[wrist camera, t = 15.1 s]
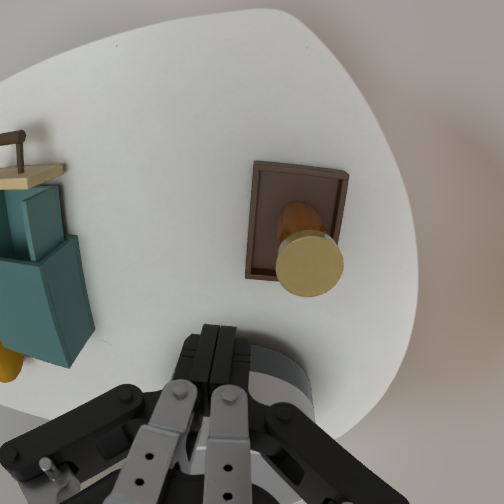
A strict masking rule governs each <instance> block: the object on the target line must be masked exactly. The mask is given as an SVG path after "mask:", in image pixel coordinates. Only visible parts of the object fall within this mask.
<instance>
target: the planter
mask: <svg viewBox="0 0 504 504" xmlns="http://www.w3.org/2000/svg"><path fill="white" fill-rule="evenodd" d="M175 369H176V368H175ZM174 372H175V370H174V371H173V374H172V377H171V380H170V381H172V379H173V376H174ZM248 390H249V393H250V395H251V396H252V398H253V399H255V400H256V401H258V402H259V403H262V404H265V405H268V406H271V405H272V404H274V403H278V402H288V403H291V404H293V405H295V406H297V407H298V408H299V409H300V410H301V411H302V412H303V413H304V414H305V415H307V416H308V417H309V418H310V419H311V420H312V421H313V422H314V423H315V416H314V407H313V399H312V391H311V384H310V381H309V379H308V376H307V375H306V373H305V372H304V370H303V369H302V368H301V367H300V366H299V365H298V364H297V363H296V362H294V361H293V360H292V359H290V358H289V357H287V356H285V355H283V354H281V353H279V352H277V351H274V350H271V349H268V348H265V347H261V346H256V345H251V358H250V372H249V386H248ZM209 422H210V417H203V422H202V427H201V434H200V438H199V441H198V445H197V448H196V452H195V455H194V458H193V462H192V466H191V475H197V474H205V461H206V446H207V437H208V435H209ZM250 453H251V481H252V483H253V484H256V485H258V486H260V487H262V488H263V489H265V490H266V491H268V492H269V493H270V494H271V495H272V496H273V497H274V498H275V499H276V500H277V501H278V502H279V503H280V504H298V503H301V502H303V501H304V500H303V499H302V498H301V497H300V496H299V495H298V494H297V493H296V492H295V491H294V490H293V489H292V488H291V487H290V486H289V485H288V484H287V483H286V482H285V481H284V480H283V479H282V478H281V477H280V476H279V475H278V474H277V473H276V472H275V471H274V470H273V469H272V468H271V467H270V465H269V464H268V463H267V462H266V461H265V460H264V459H263V458H262V457H261V455H260V453H259V452H256V451H253V450H250Z"/></svg>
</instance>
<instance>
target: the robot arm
mask: <svg viewBox="0 0 504 504" xmlns="http://www.w3.org/2000/svg"><path fill="white" fill-rule="evenodd" d="M236 335H237V327H234V326H222V325H221V326H220V325H210V324H204V325H203V328H202V331H201V335H200V334H191V335H190V336H189V337H188V338H187V339H186V340H185V341H184V344H183V347H182V350H181V354H180V357H179V360H178V363H177V366H176V369H175V372H174V376H173V379H172V381H170V382H169V383H167V384H166V385H165V386H164V388H163V389H162V390H159V391H155V392H145V393H142V391H141V390H140V389H139V388H138V387H137V386H135V385H132V384H122V385H119V386H117V387H115V388H113V389H111V390H109V391H108V392H106V393H104V394H102V395H100V396H98V397H96V398H94V399H92V400H91V401H89V402H87V403H85V404H83V405H81V406H79V407H77V408H75V409H73V410H71V411H69V412H67V413H65V414H63V415H61V416H59V417H57V418H55V419H53V420H51V421H50V422H47V423H45V424H43V425H41V426H39V427H37V428H35V429H33V430H31V431H29V432H27V433H25V434H23V435H20V436H18V437H16V438H14V439H12V440H10V441H8V442H6V443H4V444H3V445H2V446H1V448H0V463H1V465H2V466H3V467H4V468H5V469H6V470H7V471H8V472H9V473H10V474H11V476H12V477H13V478H14V479H15V480H16V481H17V482H18V484H19V486H20V488H21V490H22V492H23V494H24V495H25V497H26V499H27V501H28V503H29V504H280V503H279V502H278V501H277V500H276V499H275V498H274V497H273V496H272V495H271V494H270V493H269V492H268V491H266V490H265V489H263V488H262V487H260V486H258V485H256V484H253V483H252V481H251V453H250V450H253V451H256V452H259V453H260V455H261V457H262V458H263V459H264V460H265V461H266V462H267V463H268V464H269V465H270V467H271V468H272V469H273V470H274V471H275V472H276V473H277V474H278V475H279V476H280V477H281V478H282V479H283V480H284V481H285V482H286V483H287V484H288V485H289V486H290V487H291V488H292V489H293V490H294V491H295V492H296V493H297V494H298V495H299V496H300V497H301V498H302V499H303V500H304V501H305V502H306V503H307V504H409V502H408V500H407V499H406V498H405V497H404V496H403V495H401V494H400V493H399V492H397V491H396V490H395V489H393V488H392V487H391V486H389V485H388V484H387V483H386V482H384V481H383V480H382V479H381V478H379V477H378V476H377V475H375V474H374V473H373V472H372V471H371V470H369V469H368V468H366V466H364V465H363V464H362V463H361V462H360V461H358V460H357V459H356V458H355V457H354V456H352V455H351V454H350V453H349V452H348V451H346V450H345V449H344V448H343V447H342V446H341V445H339V444H338V443H337V442H336V441H335V440H334V439H332V438H331V437H330V436H329V435H328V434H327V433H326V432H324V431H323V430H322V429H321V428H320V427H319V426H318V425H317V424H315V423H314V422H313V421H312V420H311V419H310V418H309V417H308V416H307V415H305V414H304V413H303V412H302V411H301V410H300V409H299V408H298V407H297V406H295V405H293V404H291V403H288V402H278V403H274V404H272V405H271V406H268V405H265V404H262V403H259V402H258V401H256V400H255V399H253V398H252V396H251V395H250V393H249V390H248V386H249V372H250V358H251V345H250V343H249V341H248V339H246V338H236ZM203 417H210V422H209V435H208V437H207V446H206V461H205V474H197V475H191V466H192V462H193V458H194V455H195V452H196V448H197V445H198V441H199V438H200V434H201V427H202V422H203ZM124 458H126V460H125V462H124V464H123V466H122V468H121V469H118V470H115V471H113V472H111V473H110V474H108V475H107V476H105V477H103V478H102V479H100V480H99V481H97V482H95V483H94V484H92V485H90V486H89V487H87V488H85V489H84V490H82V491H80V487H81V485H80V484H81V483H82V482H84V481H86V480H88V479H90V478H92V477H93V476H95V475H97V474H99V473H100V472H102V471H104V470H105V469H107V468H109V467H111V466H112V465H114V464H116V463H118V462H119V461H121V460H122V459H124ZM79 491H80V492H79Z"/></svg>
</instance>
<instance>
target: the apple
mask: <svg viewBox="0 0 504 504" xmlns="http://www.w3.org/2000/svg"><path fill="white" fill-rule="evenodd" d="M23 359H24V354H21V353H18V352H15V351H13V350H10V349H7V348H5V347H3V344H2V342H1V340H0V382H3V383H7V382H11V381H13V380H14V379H16V377H17V376H18V374H19V373H20V371H21V368H22V365H23Z"/></svg>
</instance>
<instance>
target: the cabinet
mask: <svg viewBox="0 0 504 504" xmlns="http://www.w3.org/2000/svg"><path fill="white" fill-rule="evenodd" d="M64 240H65V241H64V242H63V243H62V244H61V245H59V246H58V247H57V248H56V249H54V250H53V251H52V252H51V253H49V254H48V255H47V256H46V257H44V258H43V259H42V260H41V261H40V262H38V263H36V262H29V261H22V260H16V259H10V258H3V257H0V340H1V342H2V344H3V347H5V348H7V349H10V350H13V351H15V352H18V353H21V354H24V355H27V356H30V357H33V358H36V359H39V360H42V361H45V362H48V363H52V364H55V365H58V366H62V367H65V368H69V369H70V367H71V366H72V364H73V362H74V361H75V359H76V357H77V356H78V354H79V353H80V351H81V350H82V348H83V347H84V345H85V344H86V342H87V341H88V339H89V338H90V336H91V335H92V333H93V332H94V330H95V328H94V323H93V319H92V315H91V310H90V306H89V301H88V296H87V291H86V286H85V281H84V276H83V270H82V264H81V258H80V251H79V245H78V237H77V236H76V235H64Z"/></svg>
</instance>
